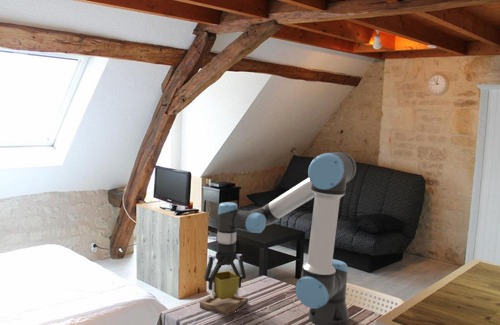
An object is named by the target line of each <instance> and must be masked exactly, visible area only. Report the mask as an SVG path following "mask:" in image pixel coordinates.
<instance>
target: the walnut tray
mask: <svg viewBox="0 0 500 325" xmlns="http://www.w3.org/2000/svg"><path fill="white" fill-rule="evenodd" d="M247 303H249V298H248V297H244V296H240V295H238V297H236V296H235V295H234V296H233V297H232V298H228V299H223V300H221V299H220V298H219V297H217V296H216V295H215V293H214V299H212V298H211V295H210V296H208V297H206V298H204V299H203V300H201V301H200V302H199V308H201V309H204V310H208V311H211V312H215V311H216V312H215V313H218V312H219V314H222V313H223V314H222V315H226V314H228V315H227V316H229V315H231V314H232V315H234V314H235V313H236V312H238V311H239V310H241V309H242V308H243V307H245V306H246V305H247ZM244 305H245V306H244ZM240 308H241V309H240ZM238 309H239V310H238ZM237 310H238V311H237ZM235 311H236V312H235ZM234 312H235V313H234ZM233 313H234V314H233ZM232 315H231V316H232Z"/></svg>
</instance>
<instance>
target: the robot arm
mask: <svg viewBox="0 0 500 325" xmlns="http://www.w3.org/2000/svg"><path fill="white" fill-rule="evenodd" d="M353 158H354V157H352V156H351V155H350V154H348V153H346V152H344V151H335V152H325V153H321V154H319V155H317V156H316V157H314V158H313V159H312V161H311V162H310V164H309V165H308V169H307V170H308V171H307V174H308V175H307V176H308V177H307V178H306V179H304V180H302V181H301V182H299V183H298V184H296V185H295V186H292V187H291V188H289V190H287V191H285V192H284V193H282V194H280V195H279V196H278V197H275V199H273V200H272V201H270V202H269V203H268V202H267V203H266V204H265V205H264V206H261V207H259V208H256V209H252V210H249V211H248V210H241V209H239V208H238V207H239V206H238V203H235V202H231V201H230V202H229V201H227V202H221V203H219V205H218V208H217V209H218V211H217V212H218V213H217V233H216V234H217V236H216V241H217V242H216V253H215V254H214V255H211V254H209V255H208V263H207V265H206V270H205V273H204V277H203V278H204V281H205V282H208V290H209V291H210V296H211V298H212V299H214V281H213V280H214V278H215V276H216V274H217V273H219V272H220V269H221V268H222V266H230V267H231V268H232V270H233V272H234V274H235V275H237V276H239V277H240V278H239V284H238V289H237V291H236V293H235V296H236V297H238V296H239V289H240V288H241V287H242V281H243V279H246V278H247V277H246V271H245V266H244V256H243V254H241V253H236V252H237V243H236V242H237V230H239V231H244V232H248V233H252V234H254V233H256V234H261V233H262V232H263V231H264V230H265V228H266V226H272V225H273V224H275V223H276V222H277V221H278V220H279V219H280V218H283V217H285V215H287V214H289V213H291V212H292V211H294V210H295V209H297V208H299V207H301V206H302V205H304V204H305V203H307V202H309V201H311V200H313V198H314V200H313V208H312V209H313V210H312V220H311V225H310V226H311V228H310V237H309V243H308V252H307V253H308V254H307V261H306V262H304V263H303V264H302V269H301V277H300V278H299V279H297V282H296V284H295V288H294V289H295V294H296V295H295V296H296V298H297V299H298V300H299V301H300V302H301V304H303V305H304V306H305V307H307V308H309V310H308V318H309V321H310V322H311V323H313V324H315V325H348V324H349V322H350V314H349V309H348V306H347V302H346V296H347V295H346V294H347V284H348V283H347V281H348V280H347V279H348V264H347V263H345V262H344V261H342V260H338V259H334V251H335V241H336V234H337V233H336V232H337V225H338V217H339V207H340V200H341V198H343V197H344V196H345V195H346V189H347V183H348V182H350V181H351V180H353V178H354V176H355V175H356V171H357V164H356V162H355V159H353ZM236 259H237V261H238V266H239V270H240V273H239V271H238V269H237V266H236V265H235V262H234V261H235V260H236ZM215 260H217V262H216V263H215V266H214V268H213V265H214V261H215ZM212 268H213V269H212Z"/></svg>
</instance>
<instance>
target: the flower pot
mask: <svg viewBox="0 0 500 325" xmlns="http://www.w3.org/2000/svg"><path fill="white" fill-rule="evenodd" d="M239 278H240V277H239V276H237V275H236V274H235V272H234V273H233V271H230V270H224V271H218V273H217V274H216V276H215V278H214V280H213V281H214V293H215V295H216V296H217V297H219V298H220V299H221V300H223V299H228V298H232V297H233V296H234V295H235V293H236V291H237V289H238V284H239Z"/></svg>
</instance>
